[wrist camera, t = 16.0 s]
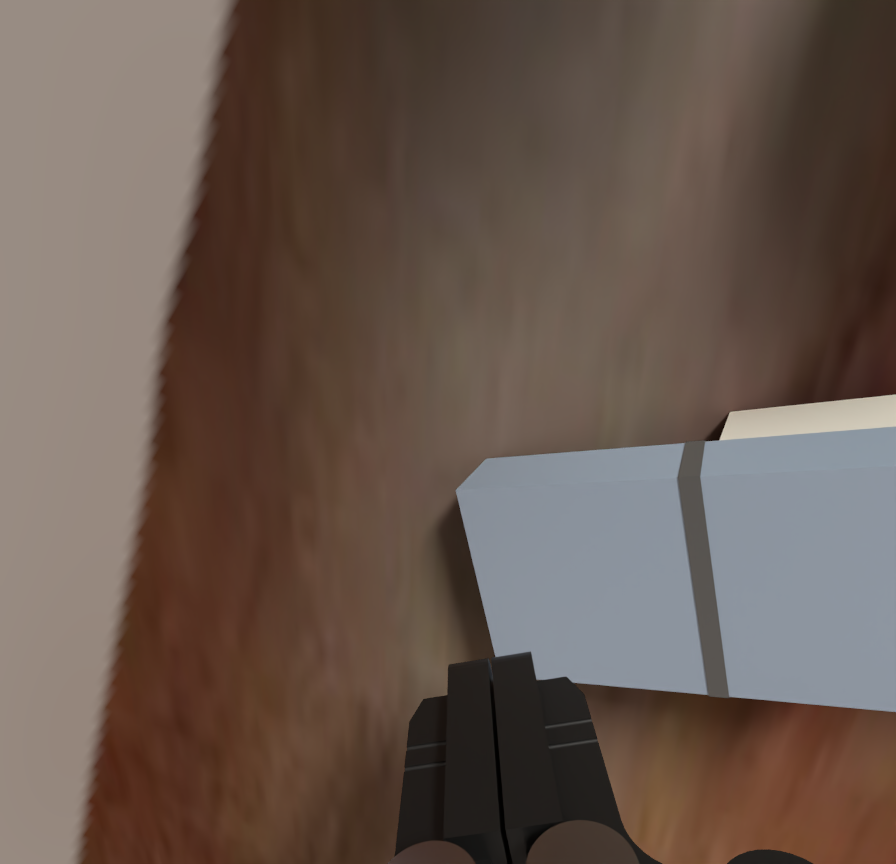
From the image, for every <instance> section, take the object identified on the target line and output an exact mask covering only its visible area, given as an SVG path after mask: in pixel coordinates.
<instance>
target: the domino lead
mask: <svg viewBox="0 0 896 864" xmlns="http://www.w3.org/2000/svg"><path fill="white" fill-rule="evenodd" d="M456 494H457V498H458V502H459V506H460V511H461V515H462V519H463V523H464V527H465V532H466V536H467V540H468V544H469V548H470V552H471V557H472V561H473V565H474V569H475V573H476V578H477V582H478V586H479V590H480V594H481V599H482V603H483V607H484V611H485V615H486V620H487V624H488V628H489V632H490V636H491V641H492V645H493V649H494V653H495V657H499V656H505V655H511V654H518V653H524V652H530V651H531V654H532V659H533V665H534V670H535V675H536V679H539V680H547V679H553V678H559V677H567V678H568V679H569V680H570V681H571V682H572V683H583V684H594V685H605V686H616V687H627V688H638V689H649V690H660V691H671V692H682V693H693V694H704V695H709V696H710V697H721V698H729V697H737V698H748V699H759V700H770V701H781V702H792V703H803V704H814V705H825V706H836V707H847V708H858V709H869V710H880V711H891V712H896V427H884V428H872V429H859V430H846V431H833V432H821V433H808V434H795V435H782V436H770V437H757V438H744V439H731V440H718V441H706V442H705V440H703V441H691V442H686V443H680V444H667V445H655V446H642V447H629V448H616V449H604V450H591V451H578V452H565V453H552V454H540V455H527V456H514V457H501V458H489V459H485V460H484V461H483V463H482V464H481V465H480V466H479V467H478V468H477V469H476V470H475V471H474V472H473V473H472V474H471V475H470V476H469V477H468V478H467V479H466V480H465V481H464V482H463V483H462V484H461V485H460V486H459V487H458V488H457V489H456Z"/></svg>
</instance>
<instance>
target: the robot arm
mask: <svg viewBox="0 0 896 864" xmlns="http://www.w3.org/2000/svg"><path fill="white" fill-rule="evenodd" d="M492 672H493V674H492ZM388 864H662V863H660V862H658V861H656V860H654V859H653V858H651V857H650V856H648V855H647V854H646V853H644V852H643V851H642V850H641V849H640V848H639V847H638V846H637V845H636V844H635V843H634V842H633V841H632V839H631V838H630V837H629V835H628V834H627V832H626V830H625V829H624V826H623V824H622V821H621V818H620V815H619V811H618V808H617V805H616V801H615V798H614V794H613V791H612V787H611V784H610V781H609V777H608V774H607V770H606V767H605V764H604V760H603V757H602V753H601V750H600V747H599V743H598V741H597V736H596V733H595V729H594V726H593V723H592V720H591V716H590V712H589V709H588V706H587V702H586V699H585V695H584V694H583V693H582V692H581V691H580V690H579V689H578V688H577V687H576V686H575V685H574V684H573V683H572V682H571V681H570V680H569V679H568V678H567V677H559V678H553V679H547V680H540V681H536V675H535V670H534V665H533V659H532V654H531V651H530V652H524V653H518V654H511V655H505V656H499V657H493V658H492V670H491V665H490V661H489V659H481V660H475V661H469V662H463V663H456V664H450V665H449V667H448V694H447V695H446V696H440V697H434V698H427V699H423V701H422V702H421V704H420V706H419V707H418V709H417V710H416V712H415V714H414V715H413V717H412V719H411V720H410V723H409V732H408V741H407V751H406V759H405V772H404V777H403V787H402V796H401V805H400V814H399V823H398V832H397V841H396V851H395V856H394V858H393V859H392V860H390V862H389V863H388ZM727 864H813V863H811V862H809V861H807V860H805V859H803V858H801V857H798V856H796V855H793V854H790V853H786V852H782V851H776V850H754V851H749V852H746V853H743V854H740V855H738V856H736V857H735V858H733V859H732V860H730V861H729V862H728V863H727Z"/></svg>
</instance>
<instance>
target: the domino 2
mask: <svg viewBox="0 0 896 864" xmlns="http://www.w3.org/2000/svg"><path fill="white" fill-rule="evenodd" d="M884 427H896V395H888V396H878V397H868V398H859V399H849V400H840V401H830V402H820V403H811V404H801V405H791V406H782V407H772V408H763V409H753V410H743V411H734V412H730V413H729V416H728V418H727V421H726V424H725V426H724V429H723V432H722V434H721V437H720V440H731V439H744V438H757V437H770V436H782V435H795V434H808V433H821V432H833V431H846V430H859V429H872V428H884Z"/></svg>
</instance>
